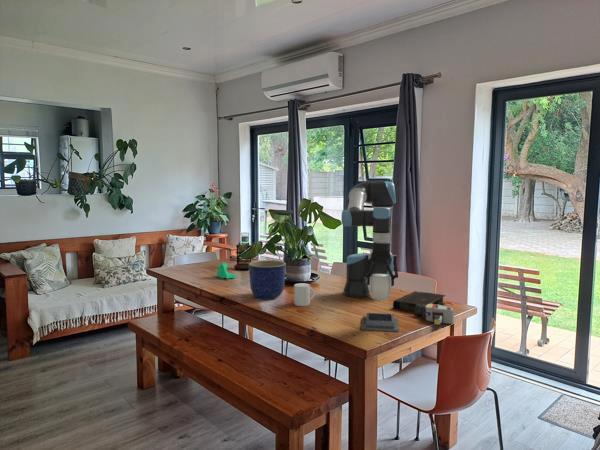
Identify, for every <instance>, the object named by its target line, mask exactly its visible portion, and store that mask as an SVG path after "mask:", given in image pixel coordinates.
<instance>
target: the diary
mask: <svg viewBox="0 0 600 450" xmlns="http://www.w3.org/2000/svg"><path fill="white" fill-rule="evenodd" d="M444 297H446V294H439V293H434V292H426V291H416V290H415V291H412V292H411V293H408V294H406V295H403V296H401V297H400V298H397V299H394V300H393V301H392V308H393V309H394V310H398V311H403V312H408V313H414V314H415V312H414V308H415V306H416V304H421V305H423V306H426V305H428V304H437V305H442V306H445V305H446V303H445V302H444Z"/></svg>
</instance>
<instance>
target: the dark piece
mask: <svg viewBox="0 0 600 450" xmlns="http://www.w3.org/2000/svg"><path fill="white" fill-rule="evenodd" d="M249 247H251V248H252V245H251V244H250V242H247V244H241V242H238V244H236V252H235V253H236V264H235V265H233V268H234V269H235V270H236V271H238V270H249V263H251V262H252V258H251V259H250V260H242V259H240V258H239V255H240V254H241V253H242V252H244V251H245V250H247V249H248V248H249Z"/></svg>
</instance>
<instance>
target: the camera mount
mask: <svg viewBox="0 0 600 450" xmlns="http://www.w3.org/2000/svg"><path fill="white" fill-rule="evenodd" d="M216 277H218V278H220V277H221V278H226V279H227V280H228V279H232V278H233V279H234V278H236V277H237V275H236V274H235V273H231V272H228V264H227V262H223V263H220V264H219V266H218V270H217V271H216ZM221 278H220V279H221Z"/></svg>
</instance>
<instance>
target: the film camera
mask: <svg viewBox="0 0 600 450" xmlns="http://www.w3.org/2000/svg"><path fill="white" fill-rule="evenodd" d="M414 312H415V313H414V314H415V316H423V319H425V321H428V322H433V324H434V325H438V326H439V325H441V324H448V325H453V324H454V323H455V310H454V308H452V307H450V306H445V305H443V306H442V305H437V304H428V305H426V306H423V305H421V304H416V306H415V308H414Z"/></svg>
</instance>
